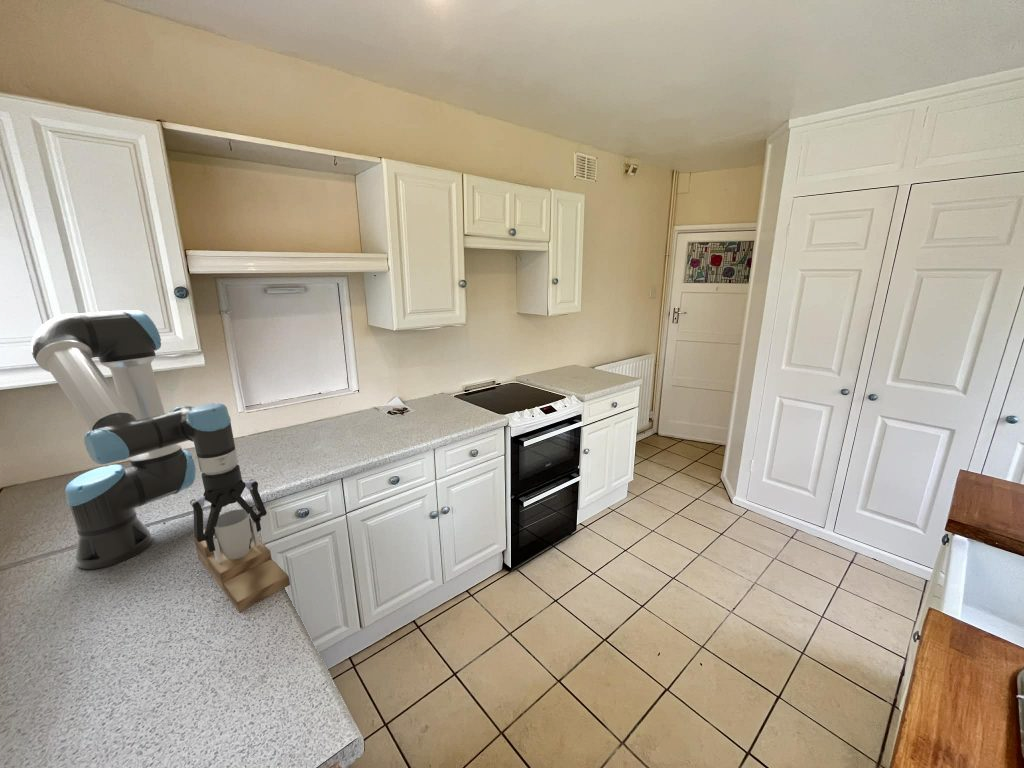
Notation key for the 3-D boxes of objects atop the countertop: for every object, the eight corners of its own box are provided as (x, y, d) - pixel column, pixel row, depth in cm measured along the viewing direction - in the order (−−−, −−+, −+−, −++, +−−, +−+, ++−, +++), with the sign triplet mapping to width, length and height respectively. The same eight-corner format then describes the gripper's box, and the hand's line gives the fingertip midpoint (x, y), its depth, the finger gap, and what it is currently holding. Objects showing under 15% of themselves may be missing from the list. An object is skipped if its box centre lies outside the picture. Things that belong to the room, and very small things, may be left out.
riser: (239, 612, 92) (232, 583, 90) (198, 558, 111) (192, 533, 109) (290, 584, 100) (285, 557, 99) (244, 538, 119) (239, 514, 117)
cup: (262, 551, 105) (255, 516, 102) (225, 568, 99) (217, 531, 96) (250, 539, 110) (243, 505, 108) (214, 555, 104) (206, 519, 101)
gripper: (170, 490, 89) (193, 580, 94) (272, 457, 104) (286, 537, 110) (162, 480, 93) (184, 567, 99) (260, 450, 109) (275, 527, 114)
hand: (238, 551), depth 104 cm, fingers closed on cup, 8 cm apart
